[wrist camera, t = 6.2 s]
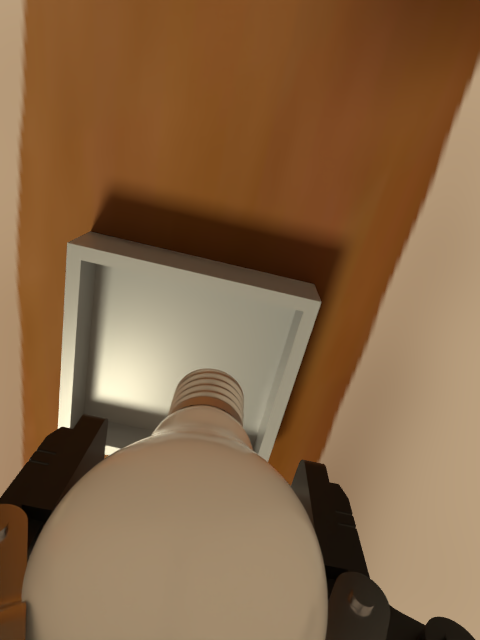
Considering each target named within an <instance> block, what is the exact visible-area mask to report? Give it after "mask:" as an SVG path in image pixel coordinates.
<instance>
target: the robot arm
mask: <svg viewBox="0 0 480 640" xmlns="http://www.w3.org/2000/svg"><path fill="white" fill-rule="evenodd" d="M107 430H108V419H107V418H103V417H98V416H93V415H88V414H83V415H82V416H81V418H80V419H79V421H78V422H77V424H76V425H75V427H74V428H73V429H71V428H67V427H60V428H59V429H57V430H56V431H54V432H53V433H51V434H50V435H48V436H47V437H46V438H45V439H44V441H43V442H42V443H41V445H40V446H39V447H38V449H37V451H35V453H34V454H33V455H32V457H31V458H30V459H29V462H27V463H26V465H25V466H24V467H23V468H22V470H21V471H20V472H19V474H18V475H17V476H16V478H15V479H14V480H13V482H12V483H11V484H10V486H9V487H8V488H7V490H6V491H5V492H4V494H3V495H2V496H1V498H0V640H25V635H26V600H25V601H22V598H21V597H22V586H23V580H24V575H25V571H26V567H27V562H28V559H29V556H30V554H31V551H32V549H33V547H34V544H35V542H36V540H37V538H38V536H39V534H40V532H41V530H42V528H43V526H44V525H45V523H46V521H47V520H48V518H49V516H50V515H51V513H52V512H53V510H54V509H55V507H56V506H57V505H58V503H59V502H60V501H61V499H62V498H63V497H64V496H65V494H66V493H67V492H68V491H69V490H70V489H71V487H72V486H73V485H74V484H75V483H76V482H77V481H78V480H79V479H80V478H81V477H82V476H83V475H84V474H86V473H87V472H88V471H89V470H90V469H91V468H93V467H94V466H95V465H96V464H98V463H99V462H100V461H102V460H103V459H104V455H105V447H106V438H107ZM291 488H292V489H293V490H294V492H295V493H296V495H297V496H298V498H299V499H300V501H301V503H302V504H303V506H304V508H305V510H306V512H307V514H308V516H309V518H310V520H311V522H312V525H313V527H314V530H315V532H316V535H317V538H318V541H319V544H320V548H321V552H322V555H323V560H324V565H325V571H326V579H327V588H328V622H327V632H326V638H325V640H475V639H474V638H473V637H472V635H471V634H470V633H469V632H468V631H467V630H466V629H464V628H463V627H462V626H461V625H459V624H458V623H456V622H454V621H452V620H450V619H448V618H444V617H434V618H432V619H430V620H429V621H428V623H427V624H426V625H424V624H421V623H420V622H418V621H416V620H414V619H412V618H410V617H408V616H406V615H405V614H402V613H401V612H399V611H398V610H396V609H394V608H393V607H392V606H390V605H389V603H388V600H387V598H386V596H385V594H384V593H383V591H382V590H381V588H380V587H379V586H378V585H377V584H376V583H375V582H374V581H373V580H371V579H370V577H369V573H368V570H367V566H366V562H365V558H364V555H363V551H362V547H361V544H360V540H359V536H358V532H357V529H356V528H355V527H356V525H355V521H354V517H353V516H352V510H351V506H350V502H349V499H348V497H347V496H346V494H345V493H344V491H343V490H342V489H341V487H340V485H339V484H335V483H330V482H329V479H328V474H327V470H326V466H325V465H324V464H321V463H316V462H311V461H306V460H301V461H300V463H299V465H298V468H297V471H296V474H295V476H294V479H293V482H292V485H291Z"/></svg>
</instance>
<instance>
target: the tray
mask: <svg viewBox="0 0 480 640" xmlns="http://www.w3.org/2000/svg"><path fill="white" fill-rule="evenodd" d="M320 305H321V300H320V297H319V295H318V292H317V290H316V287H315V285H314V284H312V283H307V282H303V281H299V280H295V279H290V278H286V277H282V276H278V275H273V274H269V273H265V272H261V271H256V270H252V269H248V268H244V267H239V266H235V265H231V264H227V263H222V262H218V261H214V260H210V259H205V258H201V257H197V256H193V255H188V254H184V253H180V252H176V251H171V250H167V249H163V248H159V247H154V246H150V245H146V244H142V243H137V242H133V241H129V240H125V239H120V238H116V237H112V236H108V235H103V234H99V233H95V232H91V231H90V232H88V233H86V234H84V235H82V236H80V237H78V238H76V239H74V240H72V241H70V242H68V243H67V260H66V279H65V299H64V319H63V339H62V358H61V378H60V398H59V418H58V429H59V428H60V427H67V428H71V429H73V428H74V427H75V425H76V424H77V422H78V421H79V419H80V418H81V416H82V415H83V414H88V415H93V416H98V417H103V418H107V419H108V430H107V438H106V447H105V454H106V455H111V454H112V453H114V452H116V451H118V450H119V449H121V448H123V447H125V446H127V445H129V444H131V443H134V442H136V441H138V440H141V439H143V438H146V437H149V436H151V434H152V433H153V431H154V430H155V429H156V428H157V426H158V425H159V424H160V423H161V422H162V421H163V420H164V419H165V418H167V416H168V413H169V410H170V406H171V403H172V400H173V397H174V393H175V391H176V388H177V385H178V384H179V382H180V381H181V380H182V379H183V378H184V377H185V376H186V375H187V374H189V373H191V372H193V371H196V370H199V369H216V370H220V371H223V372H225V373H227V374H229V375H230V376H232V377H233V378H234V379H235V380H236V381H237V382H238V383H239V385H240V387H241V389H242V391H243V395H244V411H243V414H244V417H243V428H244V430H245V431H246V433H247V435H248V437H249V439H250V442H251V445H252V448H253V451H254V452H256V453H257V454H258V455H260V456H261V457H262V458H263V459H265V460H266V461H267V462H268V460H269V457H270V454H271V451H272V448H273V445H274V442H275V439H276V436H277V433H278V430H279V427H280V424H281V421H282V418H283V415H284V412H285V409H286V406H287V403H288V400H289V397H290V394H291V391H292V388H293V385H294V382H295V379H296V376H297V373H298V370H299V367H300V364H301V361H302V358H303V355H304V352H305V349H306V347H307V344H308V341H309V338H310V335H311V332H312V329H313V326H314V323H315V320H316V317H317V314H318V311H319V308H320Z"/></svg>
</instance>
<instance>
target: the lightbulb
mask: <svg viewBox="0 0 480 640" xmlns="http://www.w3.org/2000/svg"><path fill="white" fill-rule="evenodd" d="M243 411H244V395H243V391H242V389H241V387H240V385H239V383H238V382H237V381H236V380H235V379H234V378H233V377H232V376H230V375H229V374H227V373H225V372H223V371H220V370H216V369H199V370H196V371H193V372H191V373H189V374H187V375H186V376H185V377H184V378H183V379H182V380H181V381H180V382H179V384H178V385H177V388H176V391H175V393H174V397H173V400H172V403H171V406H170V410H169V413H168V416H167V418H165V419H164V420H163V421H162V422H161V423H160V424H159V425H158V426H157V428H156V429H155V430H154V431H153V433H152V434H151V436H149V437H146V438H143V439H141V440H138V441H136V442H134V443H131V444H129V445H127V446H125V447H123V448H121V449H119V450H118V451H116V452H114V453H112V454H111V455H109V456H108V457H106V458H105V459H103V460H102V461H100V462H99V463H98V464H96V465H95V466H94V467H93V468H91V469H90V470H89V471H88V472H87V473H86V474H84V475H83V476H82V477H81V478H80V479H79V480H78V481H77V482H76V483H75V484H74V485H73V486H72V487H71V489H70V490H69V491H68V492H67V493H66V494H65V496H64V497H63V498H62V499H61V501H60V502H59V503H58V505H57V506H56V507H55V509H54V510H53V512H52V513H51V515H50V516H49V518H48V520H47V521H46V523H45V525H44V526H43V528H42V530H41V532H40V534H39V536H38V538H37V540H36V542H35V544H34V547H33V549H32V551H31V554H30V556H29V559H28V562H27V567H26V571H25V575H24V580H23V586H22V597H21V598H22V601H25V600H26V635H25V640H325V638H326V632H327V622H328V588H327V579H326V571H325V565H324V560H323V555H322V552H321V548H320V544H319V541H318V538H317V535H316V532H315V530H314V527H313V525H312V522H311V520H310V518H309V516H308V514H307V512H306V510H305V508H304V506H303V504H302V503H301V501H300V499H299V498H298V496H297V495H296V493H295V492H294V490H293V489H292V488H291V486H290V485H289V484H288V483H287V481H286V480H285V479H284V478H283V477H282V476H281V474H280V473H279V472H278V471H277V470H276V469H275V468H274V467H273V466H272V465H270V464H269V463H268V462H267V461H266V460H265V459H263V458H262V457H261V456H260V455H258V454H257V453H256V452H254V451H253V448H252V445H251V442H250V439H249V437H248V435H247V433H246V431H245V430H244V428H243V417H244V414H243Z"/></svg>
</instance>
